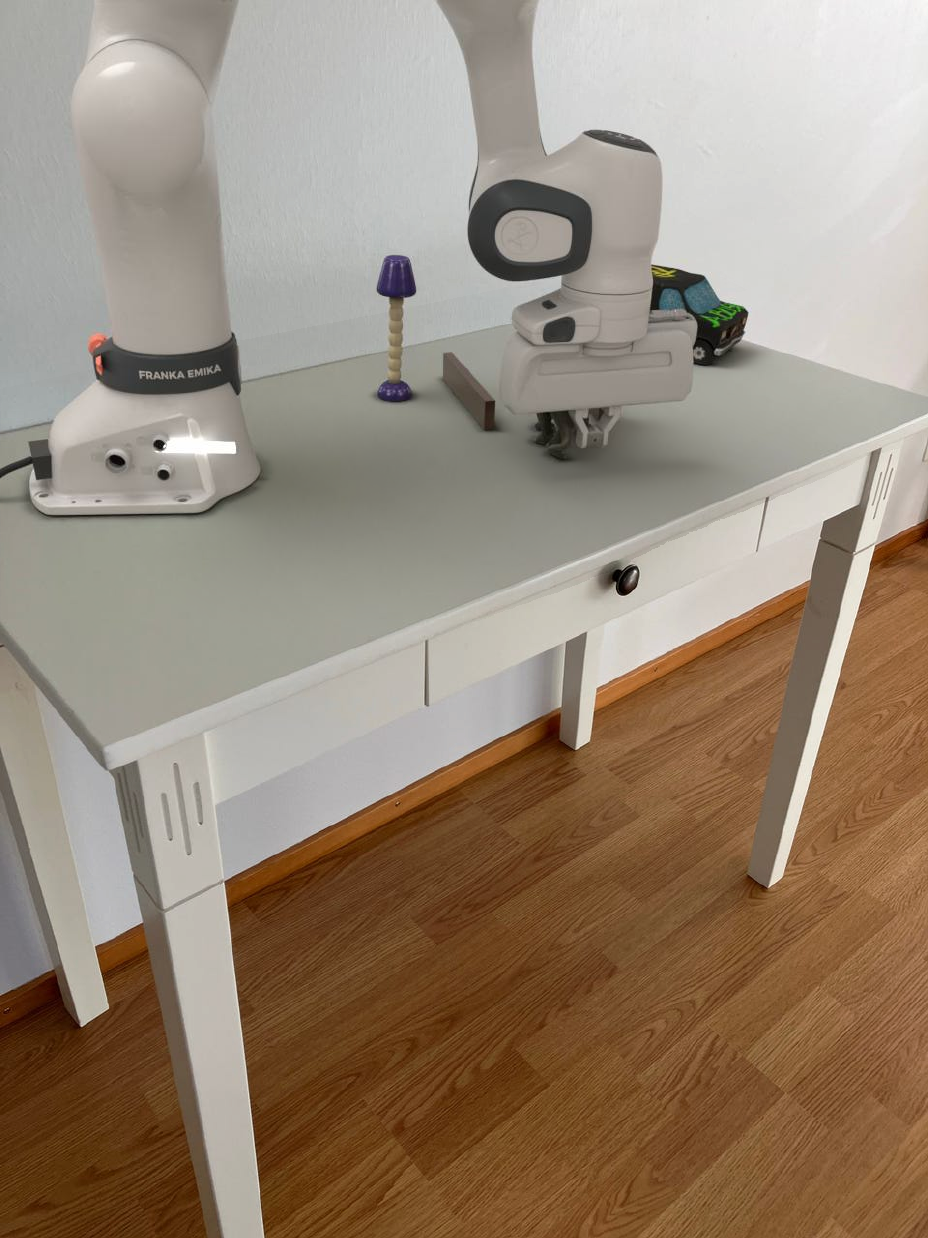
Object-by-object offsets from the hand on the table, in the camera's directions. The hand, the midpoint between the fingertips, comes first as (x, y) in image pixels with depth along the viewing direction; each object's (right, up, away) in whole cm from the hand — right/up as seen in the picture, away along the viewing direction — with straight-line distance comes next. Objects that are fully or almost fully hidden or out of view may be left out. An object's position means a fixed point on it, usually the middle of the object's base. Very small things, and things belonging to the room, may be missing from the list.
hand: (591, 445), depth 108 cm
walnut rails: (-6, +9, +19) cm, 22 cm away
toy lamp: (-22, +9, +19) cm, 30 cm away
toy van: (+14, +21, +40) cm, 48 cm away
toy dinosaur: (-3, +1, +8) cm, 8 cm away
